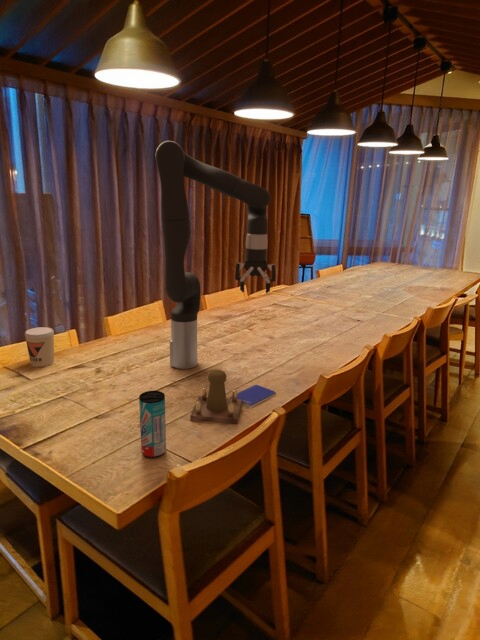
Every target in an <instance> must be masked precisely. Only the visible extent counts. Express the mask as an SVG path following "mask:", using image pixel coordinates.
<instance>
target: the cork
mask: <svg viewBox="0 0 480 640" xmlns="http://www.w3.org/2000/svg"><path fill="white" fill-rule="evenodd" d="M207 379H208V382H209V386H208V391H207V397H208V399H207V405H206V408H207V409H208V410H209V411H212V412H221V411H224V410H226V409H227V400H226V398H227V394H226V393H227V391H226V384H225V383H226V380H227V374H226V372H225V371H223V370H222V369H213V370H210V371H209V373H208V375H207Z"/></svg>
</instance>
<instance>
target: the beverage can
mask: <svg viewBox="0 0 480 640" xmlns="http://www.w3.org/2000/svg"><path fill="white" fill-rule="evenodd" d="M138 398H139V399H138V401H139V408H138V409H139V425H140V426H139V429H140V450H141V454H142V456H144V457H145V458H147V459H158V458H160V457H162V456H163V455H165V454H166V451H167V441H166V440H167V438H166V437H167V433H166V432H167V430H166V427H167V425H166V394H165V393H164V392H162V391H160V390H148V391H144V392H142V393H140V394H139V396H138Z"/></svg>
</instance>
